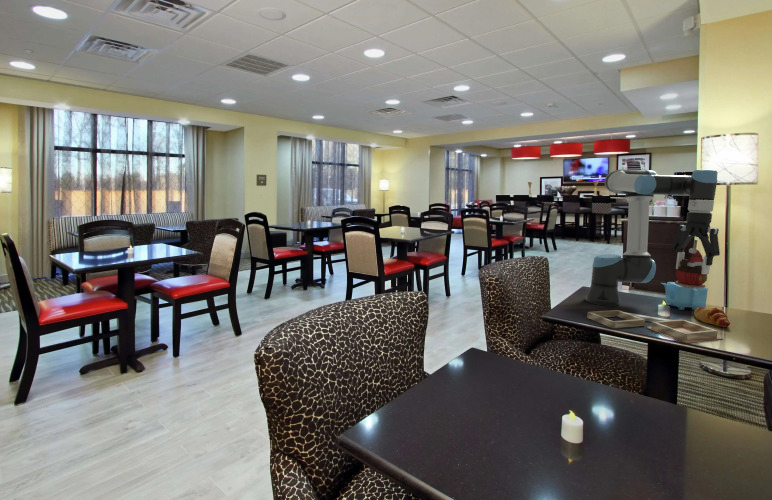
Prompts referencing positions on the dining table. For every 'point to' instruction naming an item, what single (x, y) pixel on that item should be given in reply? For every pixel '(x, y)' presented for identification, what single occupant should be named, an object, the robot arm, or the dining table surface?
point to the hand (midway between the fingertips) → (691, 271)
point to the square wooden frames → (658, 325)
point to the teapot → (685, 296)
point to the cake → (691, 271)
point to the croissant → (712, 316)
